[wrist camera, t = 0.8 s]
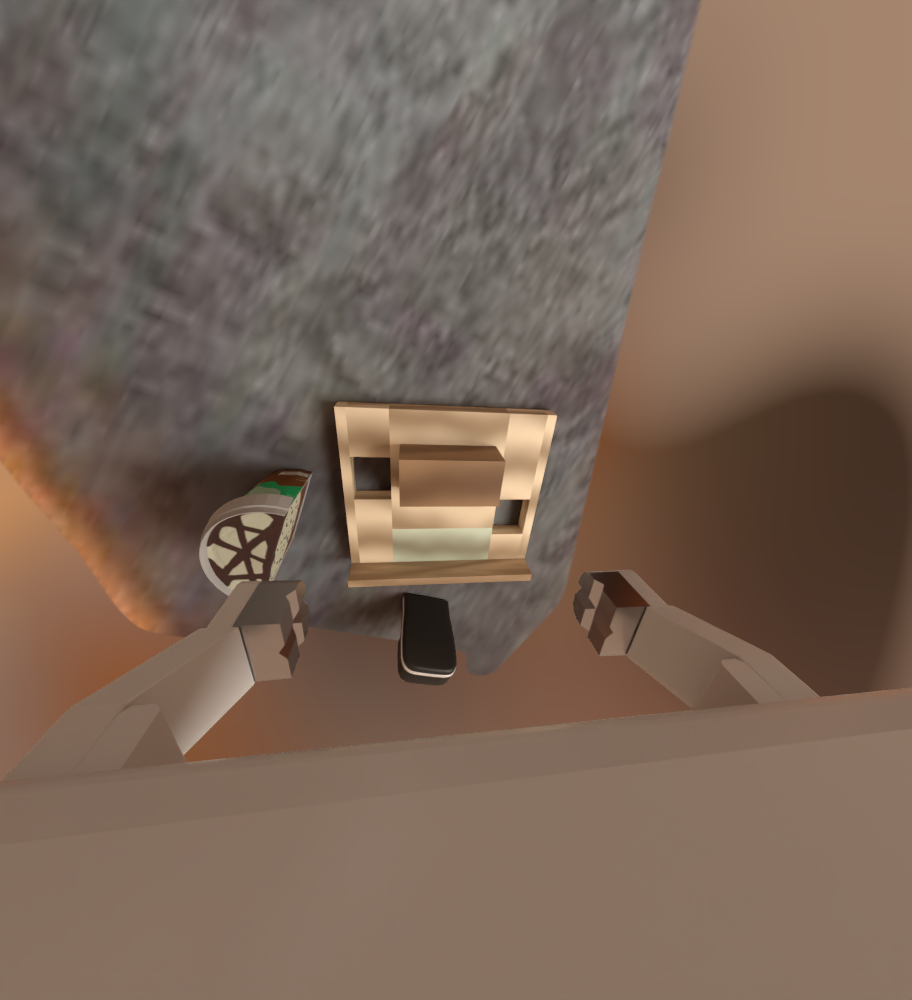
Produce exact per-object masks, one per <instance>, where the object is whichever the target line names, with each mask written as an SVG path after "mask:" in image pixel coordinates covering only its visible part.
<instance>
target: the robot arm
mask: <svg viewBox="0 0 912 1000" xmlns="http://www.w3.org/2000/svg"><path fill="white" fill-rule="evenodd" d="M579 584H580V586H581V589H580V590H579V591H578V592H577V593H576V594H575V598H574V602H573V606H574V613H575V616H576V619H577V620H578V622H579V624H580V625H581V626H582V627H584V628H585V629H587V630H588V631H589V632H588V639H589V640H590V642H591V643H592V645H593V646H594V648H595V650H596V652H597V653H598V655H599V656H608V655H627V657H628V658H630V659H631V660H632V661H633V662H634V663H636V664H637V665H638V666H639V667H641V668H642V669H643V670H644V671H646V672H647V673H648V674H649V675H651V676H652V677H653V678H655V679H656V680H657V681H658V682H659V683H661V684H662V685H663V686H664V687H666V688H667V689H668V690H669V691H671V692H672V693H673V694H674V695H676V696H677V697H678V698H679V699H681V700H682V701H683V702H684V703H686V704H687V705H688V706H689V707H691V708H692V710H691V711H681V712H671V713H662V714H652V715H643V716H633V717H624V718H614V719H605V720H595V721H585V722H576V723H567V724H557V725H549V726H548V725H547V726H538V727H529V728H519V729H508V730H498V731H489V732H479V733H469V734H460V735H449V736H440V737H430V738H421V739H410V740H402V741H391V742H381V743H372V744H362V745H352V746H342V747H333V748H323V749H314V750H304V751H294V752H284V753H275V754H265V755H255V756H246V757H236V758H226V759H216V760H207V761H197V762H187V761H186V759H185V757H184V754H185V753H186V752H187V751H188V750H189V749H190V748H191V747H192V746H193V745H194V744H195V743H196V742H197V741H198V740H199V739H200V738H201V737H202V736H203V735H204V734H205V733H206V732H207V731H208V730H209V729H210V728H211V727H212V726H213V725H214V724H215V723H216V722H217V721H218V720H219V719H220V718H221V717H222V716H223V715H224V714H225V713H226V712H227V711H228V710H229V709H230V708H231V707H232V706H233V705H234V704H235V703H236V702H237V701H238V700H239V699H240V698H241V697H242V696H243V695H244V694H245V693H246V692H247V691H248V690H249V689H250V688H251V687H252V686H253V685H254V684H255V683H254V682H255V681H265V680H275V679H286V678H292V675H293V673H294V670H295V667H296V664H297V661H298V658H299V655H300V654H299V648H298V646H299V645H300V644H301V643H302V642H303V641H305V638H306V635H307V632H308V626H309V607H308V604H307V603H305V602H304V601H303V599H304V596H305V594H306V589H305V584H304V582H303V581H302V580H296V581H243V582H241V583H239V584H237V586H236V587H235V588H234V590H233V591H232V593H231V594H230V596H229V597H228V598H227V600H226V601H225V603H224V604H223V605H222V607H221V608H220V610H219V611H218V612H217V614H216V615H215V617H214V618H213V620H212V621H211V622H210V624H209V625H208V627H207V628H204V629H198V630H197V631H195V632H193V633H192V634H190V635H188V636H187V637H185V638H184V639H182V640H180V641H179V642H177V643H175V644H174V645H172V646H171V647H169V648H167V649H166V650H164V651H162V652H160V653H159V654H157V655H156V656H154V657H152V658H151V659H149V660H147V661H146V662H144V663H142V664H141V665H139V666H137V667H136V668H134V669H133V670H131V671H129V672H128V673H126V674H124V675H123V676H121V677H119V678H118V679H116V680H114V681H113V682H111V683H109V684H108V685H106V686H105V687H103V688H101V689H100V690H98V691H97V692H95V693H93V694H91V695H90V696H88V697H87V698H85V699H84V700H82V701H80V702H78V703H77V704H75V705H73V706H72V707H70V708H69V709H68V710H67V711H66V712H65V713H64V714H63V715H62V716H61V717H60V718H59V719H58V720H57V722H56V723H55V724H54V725H53V726H52V727H51V728H50V729H49V730H48V731H47V732H46V734H44V735H43V737H42V738H41V739H40V740H39V741H38V742H37V743H36V744H35V745H34V746H33V748H31V749H30V751H29V752H28V753H27V754H26V755H25V756H24V757H23V758H22V759H21V760H20V761H19V762H18V763H17V765H16V766H15V767H14V768H13V769H12V770H11V771H10V772H9V773H8V774H7V775H6V776H5V778H4V779H3V780H2V781H1V782H0V1000H912V688H904V689H895V690H885V691H876V692H866V693H856V694H847V695H837V696H827V697H820V696H818V695H817V694H816V693H815V692H814V691H813V690H812V689H810V688H809V687H808V686H807V685H806V684H805V683H804V682H802V681H801V680H800V679H799V678H798V677H797V676H795V675H794V674H793V673H792V672H791V671H790V670H788V669H787V668H786V667H785V666H784V665H783V664H781V663H780V662H779V661H778V660H777V659H776V658H775V657H773V656H772V655H771V654H769V653H767V652H765V651H763V650H761V649H759V648H757V647H755V646H753V645H751V644H749V643H746V642H745V641H743V640H741V639H739V638H737V637H735V636H732V635H731V634H729V633H726V632H725V631H723V630H721V629H718V628H717V627H714V626H713V625H711V624H709V623H706V622H704V621H702V620H700V619H698V618H696V617H694V616H692V615H690V614H688V613H686V612H684V611H682V610H680V609H678V608H676V607H674V606H668V605H667V604H666V603H665V602H664V601H663V600H662V599H661V598H660V597H659V596H658V595H657V594H656V593H655V592H654V591H653V590H652V589H651V588H650V587H649V586H648V585H647V584H646V583H645V582H644V581H643V580H642V579H641V578H640V577H639V576H638V575H637V574H636V573H635V572H633V571H631V570H618V571H604V572H584V573H583V574H582V575H581V577H580V580H579Z"/></svg>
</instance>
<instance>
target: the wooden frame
mask: <svg viewBox="0 0 912 1000" xmlns="http://www.w3.org/2000/svg"><path fill="white" fill-rule="evenodd" d="M334 411H335V420H336V429H337V438H338V447H339V456H340V464H341V473H342V482H343V491H344V500H345V509H346V518H347V526H348V535H349V544H350V553H351V562H352V564H351V568H350V573H349V578H348V586H349V587H367V586H393V585H420V584H446V583H472V582H498V581H524V580H531V576H532V574H531V571H530V569H529V567H528V565H527V563H526V561H525V554H526V550H527V545H528V541H529V536H530V532H531V528H532V523H533V519H534V515H535V510H536V506H537V502H538V497H539V493H540V489H541V484H542V480H543V476H544V471H545V467H546V462H547V458H548V454H549V449H550V445H551V441H552V436H553V432H554V428H555V423H556V419H557V415H556V414H555V413H553V412H552V411H551V410H535V409H511V408H487V407H463V406H439V405H415V404H390V403H366V402H342V401H338V402H337V403H336V405H335V406H334ZM400 444H425V445H466V446H496V447H497V449H498V450H499V452H500V453H501V455H502V456H503V458H504V460H505V461H506V463H505V469H504V476H503V482H502V488H501V494H500V499H523V502H522V507H521V512H520V517H519V522H518V525H493V521H494V515H495V508H496V506H484V507H400V493H399V451H400ZM353 457H390V467H391V491H356V480H355V469H354V458H353Z"/></svg>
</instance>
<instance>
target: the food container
mask: <svg viewBox="0 0 912 1000" xmlns="http://www.w3.org/2000/svg"><path fill="white" fill-rule="evenodd" d="M311 476H312V472H310V471H306V470H302V469H285V470H281V471H277V472H274V473H271V474H270V475H269V476H267V477H266V478H264V479H263V480H262V481H260V482H259V483H258V484H257V485H256V486H255V487H254V488H253V489H252V490H250V491H249V492H248V493H247V494H246V495H245V496H243V497H239V498H236V499H233V500H231V501H229V502H227V503H225V504H224V505H223V506H221V507H220V508H219V509H217V510H216V511H215V512H214V514H213V515H212V516H211V517H210V519H209V521H208V523H207V525H206V527H205V529H204V531H203V534H202V537H201V540H200V551H199V557H200V562H201V566H202V568H203V570H204V572H205V574H206V575H207V577H208V578H209V580H210V581H211V582H212V583H213V584H214V585H215V586H216V587H217V588H218V589H220V590H221V591H222V592H223V593H225V594H226V595H228V596H230V594H231V593H232V591H233V590H234V588H235V587H236V586H237V584H239V583H241V582H243V581H273V580H274V578H275V576H276V574H277V572H278V570H279V568H280V565H281V563H282V561H283V559H284V557H285V555H286V553H287V551H288V548H289V546H290V544H291V542H292V540H293V538H294V535H295V531H296V528H297V524H298V521H299V517H300V514H301V510H302V507H303V503H304V500H305V496H306V493H307V489H308V486H309V483H310V479H311Z"/></svg>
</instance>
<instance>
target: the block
mask: <svg viewBox="0 0 912 1000" xmlns="http://www.w3.org/2000/svg"><path fill="white" fill-rule="evenodd" d="M505 463H506V461H505V460H504V458H503V456H502V455H501V453H500V452H499V450H498V449H497V447H496V446H466V445H425V444H400V451H399V493H400V507H484V506H499V500H500V494H501V488H502V482H503V476H504V469H505Z"/></svg>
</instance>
